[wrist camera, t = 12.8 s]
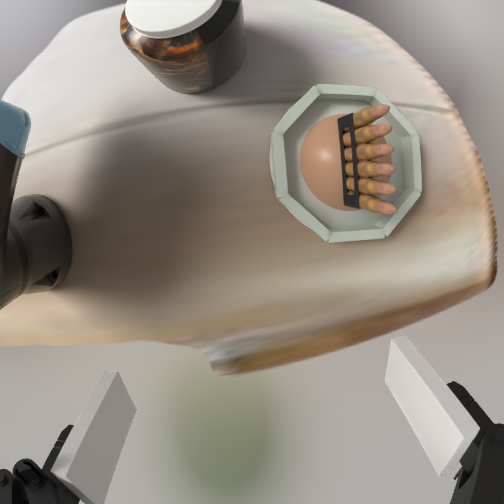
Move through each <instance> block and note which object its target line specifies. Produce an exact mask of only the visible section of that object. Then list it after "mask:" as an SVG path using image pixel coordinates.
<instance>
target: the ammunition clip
mask: <svg viewBox="0 0 504 504" xmlns="http://www.w3.org/2000/svg"><path fill="white" fill-rule="evenodd" d="M389 110H390V106H389V105H386V104H380V105H376V106H373V107H368V108H364V109H362V110H360V111H358V112H356V113H350V114H348V115H345V116H343V117H340V118H338V119H337V122H338V131H339V142H340V153H341V166H342V182H343V202H344V205H345V206H348V207H353V208H357V209H364V210H367V211H370V212H373V213H383V214H395V213H396V212H397V209H396V207H395V206H394V205H393V204H391V203H389V202H387V201H384V200H382V199H380V198H379V197H377V196H373V195H378V194H380V195H390V194H394V193H395V192H396V191H397V189H396V187H395V186H393V185H392V184H390V183H387V182H383V181H380V180H378V179H374V178H373V177H378V176H385V175H390V174H392V173H394V172H395V171H396V168H395V167H394V166H393V165H391V164H389V163H382V162H377V161H372V159H377V158H378V157H382V156H387V155H389V154H391V153H392V152H393V151H394V149H395V148H394V147H393V146H392V145H390V144H386V143H381V144H375V143H370V142H371V141H375V140H376V139H378V138H380V137H383V136H385V135H387V134H389V133H390V132H391V131H392V128H393V127H392V126H391V125H389V124H378V125H369V124H371V123H373V122H375V121H376V120H377V119H379V118H381V117H383V116H384V115H386V114H387V113H388V112H389ZM358 128H359V129H358ZM363 143H366V144H363ZM359 144H363V145H359ZM361 160H367V161H361ZM364 177H368V178H364ZM364 193H366V194H364Z"/></svg>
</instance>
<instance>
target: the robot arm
mask: <svg viewBox="0 0 504 504" xmlns="http://www.w3.org/2000/svg"><path fill="white" fill-rule="evenodd" d="M30 128H31V119H30V116H29V114H28V113H27V112H26V111H25V110H23V109H21V108H19V107H17V106H14V105H12V104H9V103H7V102H4V101H2V100H0V309H2V308H3V307H4V306H6V305H7V304H8V303H10V302H11V301H13V300H14V299H15V298H17V297H18V296H20V295H21V294H30V293H38V292H45V291H48V290H50V289H52V288H53V287H55V286H56V285H58V284H59V283H60V282H61V281H62V280H63V279H64V278H65V276H66V275H67V273H68V270H69V267H70V263H71V257H72V244H71V237H70V233H69V229H68V226H67V223H66V221H65V219H64V217H63V215H62V213H61V212H60V210H59V209H58V207H57V206H56V205H55V204H54V203H53V202H52V201H51V200H49V199H48V198H46V197H44V196H41V195H28V196H23V197H20V198H18V199H16V200H15V201H13V196H14V191H15V187H16V183H17V179H18V175H19V171H20V167H21V163H22V160H23V159H24V157H25V153H24V151H25V147H26V143H27V139H28V135H29V132H30ZM12 201H13V202H12ZM385 383H386V384H387V386H388V388H389V389H390V391H391V393H392V394H393V396H394V398H395V399H396V401H397V403H398V405H399V406H400V408H401V410H402V411H403V413H404V415H405V417H406V418H407V420H408V422H409V424H410V425H411V427H412V429H413V431H414V432H415V434H416V436H417V437H418V440H419V441H420V443H421V445H422V447H423V449H424V450H425V452H426V454H427V456H428V458H429V460H430V461H431V463H432V465H433V467H434V469H435V471H436V472H437V475H438V476H441V475H443V474H445V473H447V472H449V471H451V470H453V469H454V468H455V466H456V465H457V464H458V462H460V463H461V465H462V467H461V469H460V470H459V471H458V473H457V474H456V476H455V477H454V480H456V478H457V477H458V480H457V483H456V487H455V490H454V493H453V496H452V499H451V502H450V504H504V424H500V423H499V424H494V423H493V422H492V421H491V420H490V418H489V417H488V416H487V415H486V414H485V412H484V411H483V410H482V408H481V407H480V406H479V405H478V403H477V402H476V401H474V399H473V397H472V396H471V395H469V393H468V391H467V390H466V389H465V388H464V387H463V386H462V385H460V384H458V383H456V382H455V381H453V382H451V383H448V384H445V382H444V381H443V380H442V379H441V378H440V376H439V375H438V374H437V373H436V371H434V369H433V368H432V367H431V365H430V364H429V363H428V362H427V361H426V359H425V358H424V357H423V356H422V355H421V353H420V352H419V351H418V350H417V349H416V348H415V346H414V345H413V344H412V343H411V342H410V341H409V339H408V338H407V337H406V336H405V335H403V336H399V337H395V338H391V342H390V350H389V357H388V363H387V369H386V375H385ZM135 412H136V407H135V406H134V404H133V402H132V400H131V398H130V396H129V394H128V392H127V389H126V387H125V385H124V383H123V381H122V379H121V377H120V375H119V372H118V371H105V372H104V374H103V375H102V377H101V379H100V380H99V382H98V384H97V386H96V387H95V389H94V391H93V393H92V394H91V396H90V398H89V399H88V401H87V403H86V405H85V407H84V408H83V410H82V412H81V414H80V415H79V417H78V419H77V421H76V423H75V425H68V426H67V427H66V428H65V429H64V430H63V431H62V432H61V434H60V436H59V437H58V439H57V440H58V441H56V443H55V445H54V448H53V449H52V450H51V452H50V454H49V456H48V458H47V460H46V462H45V464H44V466H43V468H42V469H40V468H39V466H38V465H37V464H36V463H35V462H34V461H32V460H31V459H22V460H20V461H18V462H17V463H16V464H15V466H14V468H13V474H12V473H11V472H10V471H8V470H6V469H0V504H78V503H79V500H81V501H83V502H84V503H85V504H104V501H105V498H106V495H107V492H108V489H109V486H110V483H111V480H112V476H113V473H114V471H115V468H116V465H117V462H118V459H119V456H120V453H121V451H122V448H123V445H124V442H125V439H126V437H127V434H128V431H129V428H130V426H131V423H132V420H133V418H134V415H135Z"/></svg>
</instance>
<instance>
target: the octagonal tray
mask: <svg viewBox="0 0 504 504" xmlns="http://www.w3.org/2000/svg"><path fill="white" fill-rule="evenodd" d="M380 104H386V105H389V106H390V110H389V112H388V113H387V114H386V115H384V116H383V117H381V118H379V119H377V120H376V121H375V122H373V123H371V124H369V125H378V124H389V125H391V126H392V127H393V128H392V131H391V132H390V133H389V134H387V135H385V136H383V137H380V138H378V139H376V140H375V141H371V142H370V143H375V144H381V143H386V144H390V145H392V146H393V147H394V148H395V149H394V151H393V152H392V153H391V154H389V155H387V156H382V157H378V158H377V159H372V161H377V162H382V163H389V164H391V165H393V166H394V167H395V168H396V171H395V172H394V173H392V174H390V175H385V176H378V177H373V178H374V179H378V180H380V181H383V182H387V183H390V184H392V185H393V186H395V187H396V189H397V191H396V192H395V193H394V194H390V195H380V194H378V195H373V196H377V197H379V198H380V199H382V200H384V201H387V202H389V203H391V204H393V205H394V206H395V207H396V209H397V212H396V213H395V214H383V213H373V212H370V211H367V210H364V209H357V208H353V207H348V206H345V205H344V202H343V182H342V166H341V153H340V142H339V131H338V122H337V119H338V118H340V117H343V116H345V115H348V114H350V113H356V112H358V111H360V110H362V109H364V108H368V107H373V106H376V105H380ZM358 129H359V128H358ZM271 132H272V133H271V134H270V139H271V145H270V153H269V166H270V173H271V178H272V181H273V185H274V187H275V196H276V197H278V198H277V199H278V200H279V201H280V202H281V203H283V204H284V205H285V207H286V208H287V209H288V211H289V212H290V213H291V214H292V215H293V216H294V217H295V218H296V219H297V220H299V221H300V222H301V223H302V224H304V225H305V226H306V227H308V228H310V229H312V230H313V231H314V232H316V233H317V234H318V235H319V236H320V237H321V238H322V239H323V240H324V241H325V242H326V241H327V242H328V243H334V242H346V241H358V240H370V239H382V238H385V236H386V237H387V236H388V235H389V234H390V233H391V232H392V230H393V229H394V228H395V227H396V226H397V224H398V223H399V222H400V221H401V219H402V218H403V217H404V216H405V214H406V213H407V212H408V211H409V209H410V208H411V207H412V205H413V204H414V203H415V202H416V200H417V199H418V198H419V196H420V195H421V194H420V192H419V191H422V175H421V156H420V143H419V134H416V133H417V132H418V131H417V130H416V129H415V128H414V127H413V126H412V124H411V123H410V122H409V121H408V120H407V119H406V118H405V117H404V115H403V114H402V113H401V112H400V111H399V110H398V109H397V108H396V107H395V106H394V105H393V104H392V103H391V102H390V100H389V99H388V98H387V97H386V96H385V95H384V94H383V93H382V92H381V91H380V90H379V89H376V90H375V87H368V86H356V85H340V84H316V85H313V86H312V87H311V88H310V89H309V91H308V92H307V93H306V94H305V95H304V96H303V97H302V98H301V99H300V100H299V101H297V102H296V103H295V104H294V105H292V106H291V107H290V108H289V109H288V111H287V112H286V113H285V114H284V116H283V117H282V119H281V120H280V121H279V123H278V124H277V125H276V126H275V127H274V128H273V129H272V131H271ZM363 144H366V143H363ZM363 144H359V145H363ZM361 161H367V160H361ZM364 178H368V177H364ZM364 194H366V193H364Z"/></svg>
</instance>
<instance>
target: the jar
mask: <svg viewBox="0 0 504 504" xmlns="http://www.w3.org/2000/svg"><path fill="white" fill-rule="evenodd" d="M120 33H121V37H122V39H123V42H124V43H125V45H126V47H127V48H128V49H129V50H130V51H131V53H132V54H133V55H134V56H135V57H136V58H137V59H138V60H139V61H140V62H141V63H142V64H143V65H144V66H145V67H146V68H147V69H148V70H149V71H150V72H151V73H152V74H153V75H154V76H155V77H156V78H158V79H159V80H160V81H161V82H162V83H163V84H164V85H165V86H167V87H168V88H170V89H172V90H174V91H177V92H180V93H187V94H194V93H202V92H206V91H209V90H212V89H214V88H216V87H218V86H220V85H222V84H223V83H225V82H226V81H227V80H229V79H230V78H231V77H232V76H233V75H234V74H235V73H236V71H237V70H238V68H239V67H240V65H241V63H242V60H243V57H244V51H245V37H244V16H243V6H242V0H127V3H126V7H125V9H124V11H123V13H122V16H121V21H120Z"/></svg>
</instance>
